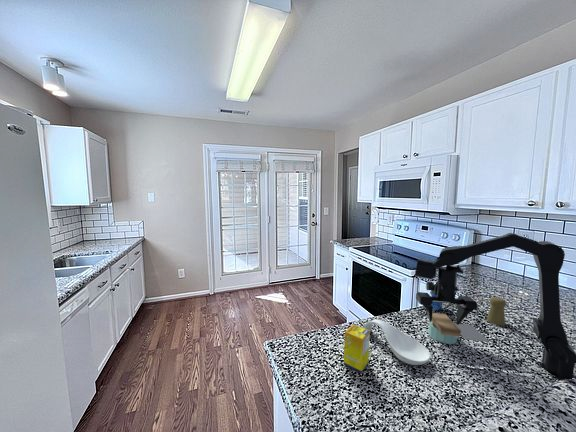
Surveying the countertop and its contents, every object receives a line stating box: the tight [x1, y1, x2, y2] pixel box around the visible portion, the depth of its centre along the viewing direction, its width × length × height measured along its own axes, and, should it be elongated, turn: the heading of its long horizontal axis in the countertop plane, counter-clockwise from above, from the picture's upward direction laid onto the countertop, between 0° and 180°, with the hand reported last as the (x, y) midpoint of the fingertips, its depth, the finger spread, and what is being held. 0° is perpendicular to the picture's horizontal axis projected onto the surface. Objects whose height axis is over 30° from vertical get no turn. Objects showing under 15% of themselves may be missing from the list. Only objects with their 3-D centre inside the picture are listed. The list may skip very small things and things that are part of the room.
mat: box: [453, 322, 490, 343], centre depth 95 cm, size 12×8×1 cm, turn 169°
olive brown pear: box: [486, 296, 507, 327], centre depth 102 cm, size 6×6×11 cm
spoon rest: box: [362, 319, 431, 366], centre depth 84 cm, size 24×12×7 cm, turn 32°
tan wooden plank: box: [432, 312, 462, 337], centre depth 91 cm, size 12×6×2 cm, turn 169°
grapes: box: [429, 290, 446, 312], centre depth 112 cm, size 12×7×12 cm, turn 126°
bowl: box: [427, 321, 459, 345], centre depth 91 cm, size 9×9×4 cm
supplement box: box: [343, 324, 371, 374], centre depth 75 cm, size 6×6×11 cm
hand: (443, 322), depth 90 cm, fingers open, 9 cm apart
